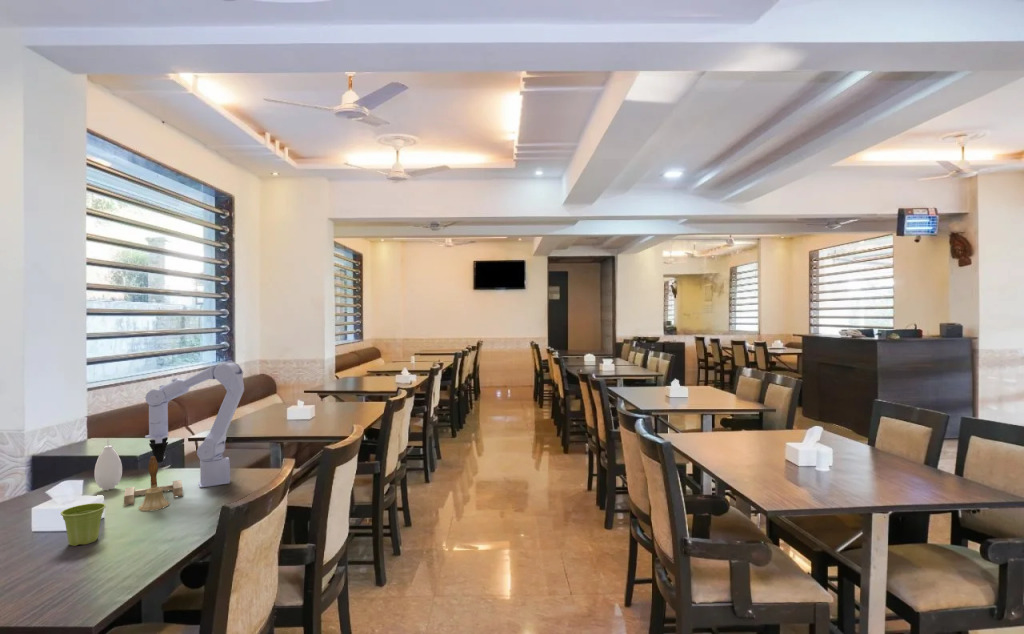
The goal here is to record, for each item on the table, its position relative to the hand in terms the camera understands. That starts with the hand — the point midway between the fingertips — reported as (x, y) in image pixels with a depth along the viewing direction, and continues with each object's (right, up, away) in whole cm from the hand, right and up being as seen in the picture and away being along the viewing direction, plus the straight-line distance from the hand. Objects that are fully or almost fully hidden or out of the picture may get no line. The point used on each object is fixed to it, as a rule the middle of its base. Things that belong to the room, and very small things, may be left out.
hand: (158, 460), depth 196 cm
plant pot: (+13, -8, -51) cm, 54 cm away
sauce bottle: (-16, -10, -3) cm, 19 cm away
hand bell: (+14, -9, -23) cm, 28 cm away
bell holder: (+7, -9, -13) cm, 17 cm away
